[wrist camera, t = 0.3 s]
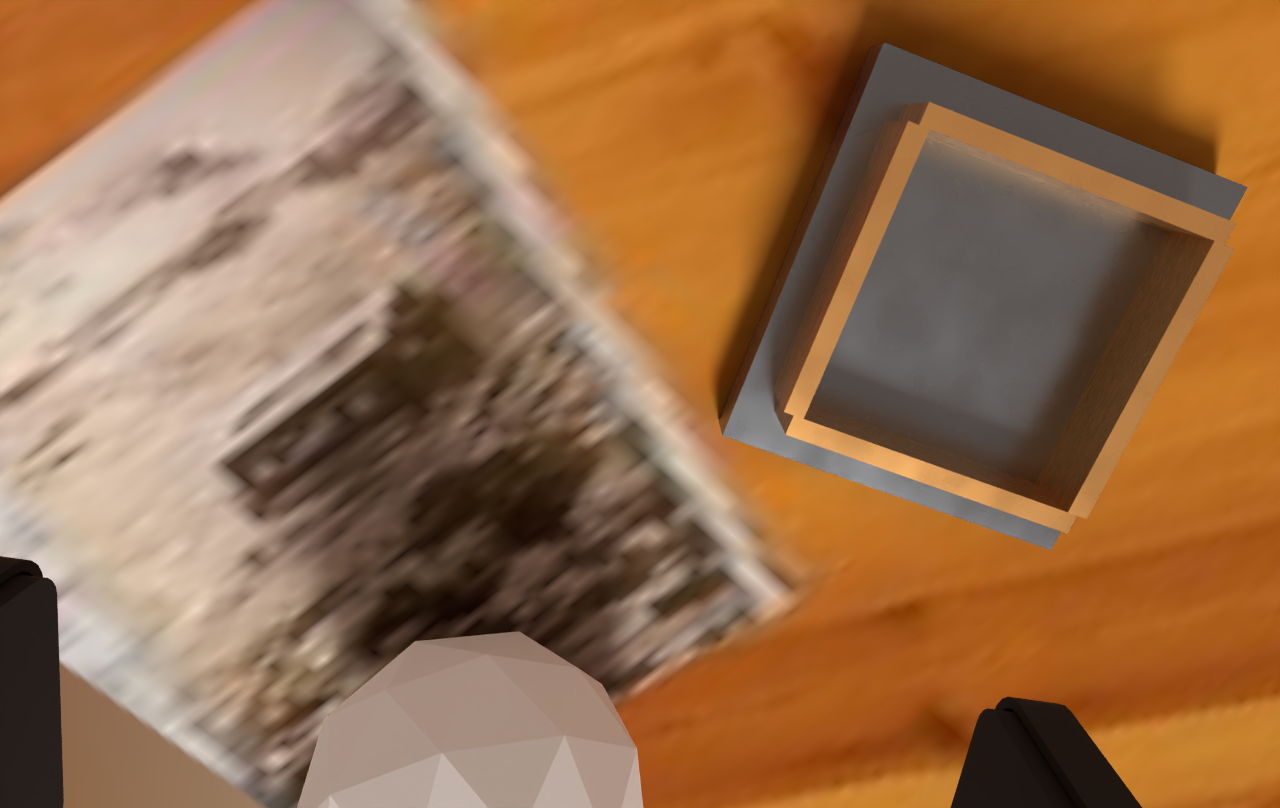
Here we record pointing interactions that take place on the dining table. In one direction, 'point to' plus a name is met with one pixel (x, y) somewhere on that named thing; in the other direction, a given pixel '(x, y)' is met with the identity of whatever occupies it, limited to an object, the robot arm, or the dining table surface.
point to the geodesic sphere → (475, 734)
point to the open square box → (978, 300)
